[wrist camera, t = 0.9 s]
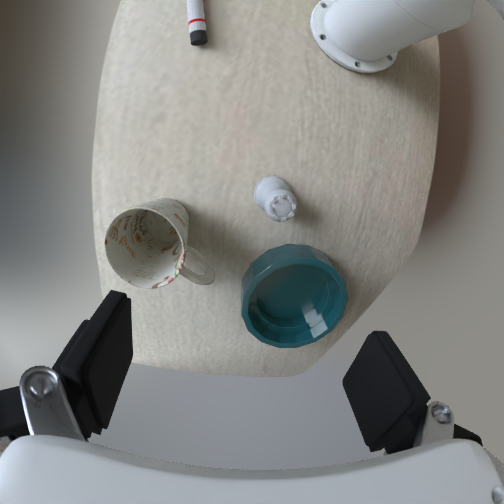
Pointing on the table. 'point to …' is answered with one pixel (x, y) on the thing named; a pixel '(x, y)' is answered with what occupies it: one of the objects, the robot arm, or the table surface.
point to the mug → (153, 245)
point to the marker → (196, 22)
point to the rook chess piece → (276, 198)
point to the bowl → (292, 296)
